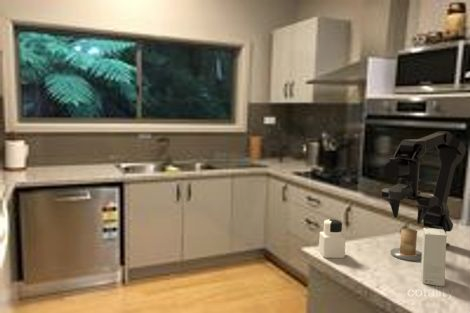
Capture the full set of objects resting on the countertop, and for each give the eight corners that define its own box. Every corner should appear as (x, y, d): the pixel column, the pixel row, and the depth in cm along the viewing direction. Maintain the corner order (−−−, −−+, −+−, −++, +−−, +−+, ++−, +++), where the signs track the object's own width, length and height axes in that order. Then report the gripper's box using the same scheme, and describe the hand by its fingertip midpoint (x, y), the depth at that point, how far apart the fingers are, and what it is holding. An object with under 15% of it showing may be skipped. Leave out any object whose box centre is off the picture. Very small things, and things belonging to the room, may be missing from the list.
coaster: (404, 248, 148) (404, 246, 148) (432, 258, 138) (432, 255, 138) (383, 253, 142) (383, 250, 142) (411, 263, 133) (411, 260, 133)
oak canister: (406, 249, 144) (407, 227, 143) (418, 254, 139) (420, 231, 138) (396, 251, 141) (398, 229, 140) (409, 256, 137) (410, 233, 136)
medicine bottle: (338, 251, 143) (340, 217, 142) (344, 258, 136) (346, 223, 135) (318, 251, 143) (320, 217, 142) (323, 258, 136) (325, 223, 135)
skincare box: (444, 287, 115) (448, 236, 113) (421, 283, 117) (424, 233, 115) (441, 276, 122) (445, 228, 121) (419, 273, 125) (422, 226, 123)
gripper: (371, 174, 144) (369, 217, 146) (419, 182, 128) (416, 230, 130) (392, 172, 150) (390, 213, 151) (440, 179, 134) (437, 226, 136)
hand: (406, 220), depth 142 cm, fingers open, 9 cm apart
